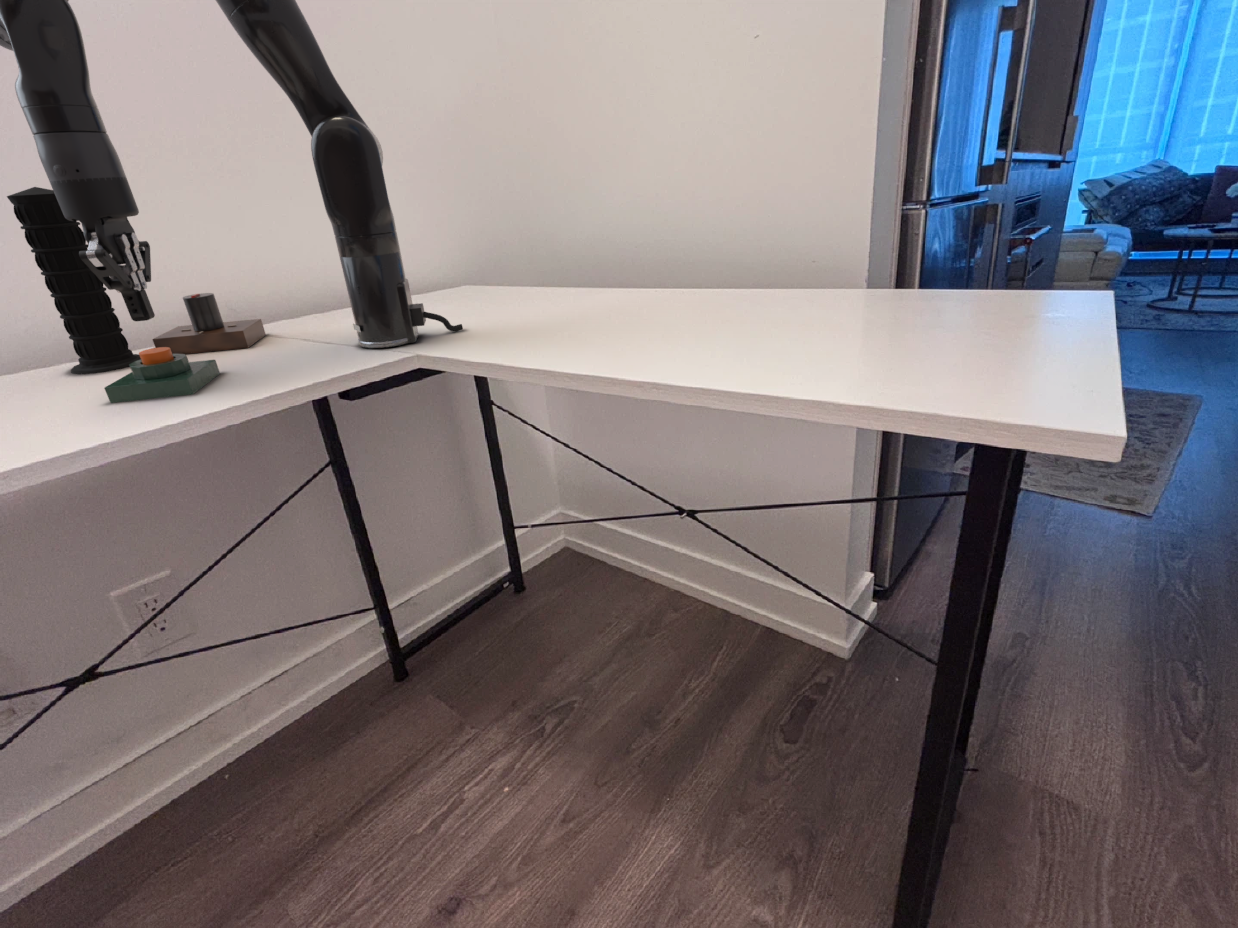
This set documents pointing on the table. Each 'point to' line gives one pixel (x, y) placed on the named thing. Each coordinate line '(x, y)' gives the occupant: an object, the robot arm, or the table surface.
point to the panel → (212, 337)
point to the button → (156, 355)
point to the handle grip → (72, 283)
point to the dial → (203, 311)
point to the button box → (162, 379)
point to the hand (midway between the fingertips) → (144, 319)
